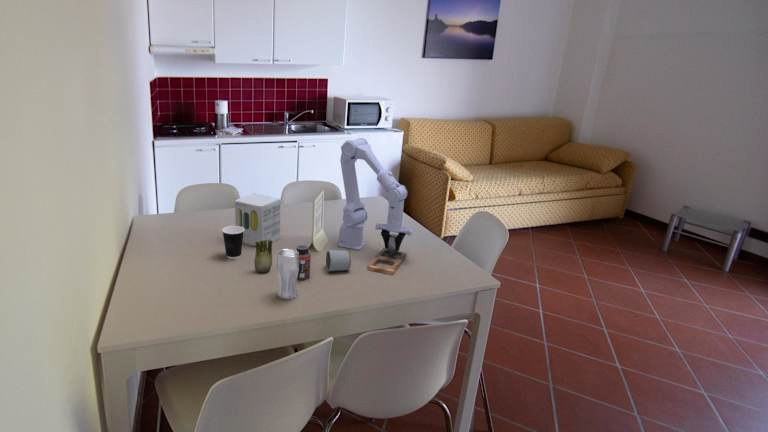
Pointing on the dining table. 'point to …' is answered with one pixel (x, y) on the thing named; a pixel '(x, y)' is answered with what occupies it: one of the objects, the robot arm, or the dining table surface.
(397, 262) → the rail
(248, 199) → the supplement box
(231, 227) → the dixie cup
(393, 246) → the metal peg
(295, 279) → the silver beverage can
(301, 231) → the dining table surface
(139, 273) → the dining table surface
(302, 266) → the supplement bottle
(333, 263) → the ceramic mug
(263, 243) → the fennel bulb
